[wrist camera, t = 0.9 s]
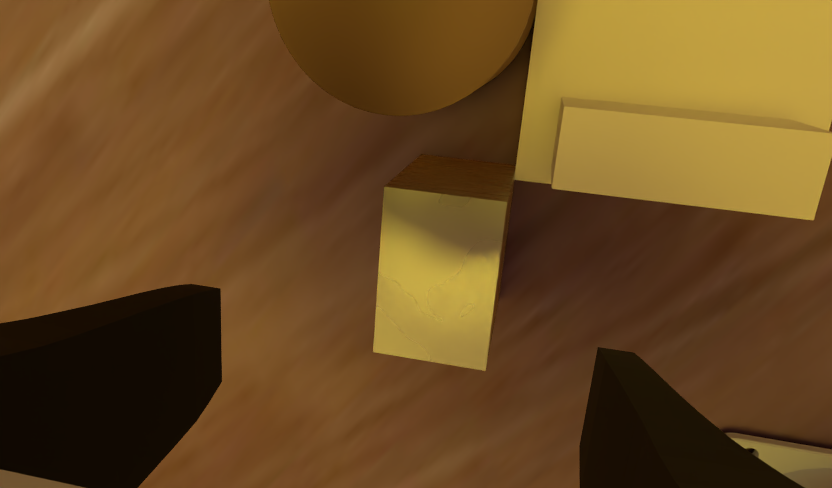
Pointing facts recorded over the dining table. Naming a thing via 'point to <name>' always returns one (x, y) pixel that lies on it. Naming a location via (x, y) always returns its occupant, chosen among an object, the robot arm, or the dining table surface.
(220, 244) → the dining table surface
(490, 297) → the tab
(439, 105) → the bobbin
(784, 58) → the notch board
